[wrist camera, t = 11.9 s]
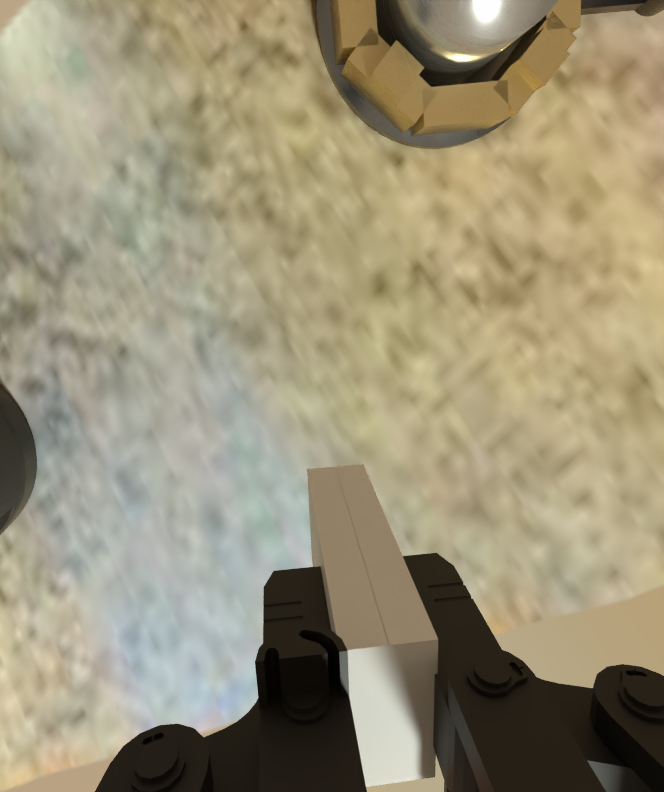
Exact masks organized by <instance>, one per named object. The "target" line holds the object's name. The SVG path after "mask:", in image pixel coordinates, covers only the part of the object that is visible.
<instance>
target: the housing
mask: <svg viewBox="0 0 664 792" xmlns="http://www.w3.org/2000/svg"><path fill="white" fill-rule="evenodd" d="M557 2H558V0H375V3H376V17H377V30H378V35H379V36H380V37H381V38H382V39H383V40H384V41H385V42H386V43H387V44H388V45H389V46H390V47H392V45H393V44H394V42H395V41H396V40H397V41H398V42H399V43H400V44H401V45H402V46H403V47H404V48H405V49H406V50H407V51H408V52H409V53H410V54H411V55H412V56H413V57H414V58H415V59H416V60H417V61H418V62H419V63H420V64H421V65H422V66H423V67H424V69H423V70H422V71H421V73H420V74H419V76H420V77H421V78H422V79H423V80H424V81H425V82H426V83H427V84H428V85H429V86H431V87H437V86H448V85H458V84H468V83H479V82H489V81H490V80H491V78H492V77H493V76H494V74H495V73H496V72H497V70H498V69H499V68H500V67H501V65H502V64H503V63H504V61H505V60H506V59H507V58H508V56H509V55H510V54H511V52H512V51H513V50H514V48H515V47H516V46H517V45H518V43H519V42H520V41H521V39H522V35H523V34H524V33H525V32H526V31H528V30H529V29H530V28H531V27H533V26H534V25H535V24H536V23H538V22H539V21H540V20H541V19H542V18H543V17H544V16H545V15H546V14H547V13H548V12H549V11H550V10H551V9H552V8H553V7H554V5H555V4H556V3H557ZM316 19H317V29H318V37H319V42H320V47H321V51H322V55H323V58H324V61H325V64H326V67H327V70H328V72H329V74H330V76H331V78H332V81H333V83H334V85H335V87H336V88H337V90H338V91H339V93H340V95H341V96H342V98H343V99H344V101H345V102H346V103H347V105H348V106H349V107H350V108H351V109H352V111H353V112H354V113H355V114H356V115H357V116H358V117H359V118H360V119H361V120H362V121H363V122H364V123H365V124H367V125H368V126H369V127H371V128H372V129H374V130H375V131H376V132H378V133H379V134H381V135H383V136H385V137H387V138H389V139H391V140H393V141H395V142H398V143H401V144H404V145H407V146H412V147H417V148H427V149H439V148H449V147H454V146H458V145H462V144H465V143H467V142H470V141H472V140H475V139H477V138H480V137H482V136H484V135H485V134H487V133H489V132H491V131H492V130H494V129H496V128H497V127H499V126H500V125H501V124H503V123H504V122H505V121H507V120H508V119H509V118H510V117H509V118H508V119H506V120H504V121H502V122H500V123H498V124H496V125H494V126H492V127H490V128H488V129H480V130H470V131H461V132H451V133H442V134H432V135H422V136H413V137H411V129H410V128H409V129H408V130H406V131H405V132H404V133H401V132H400V131H399V130H398V129H397V128H396V127H395V126H394V125H393V124H392V123H390V122H389V121H388V120H387V119H386V118H385V117H384V116H383V115H382V114H381V113H380V112H379V111H378V110H377V109H376V108H375V107H374V106H373V105H371V104H370V103H369V102H368V101H367V100H366V99H365V98H364V97H363V96H362V95H361V94H360V93H359V92H358V91H357V90H356V89H355V88H353V87H352V86H351V85H350V84H349V83H348V82H347V81H346V80H345V79H344V78H343V77H342V76H341V73H342V71H343V68H344V66H345V65H336V63H335V52H334V42H333V32H332V21H331V11H330V1H329V0H317V4H316Z"/></svg>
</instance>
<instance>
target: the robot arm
mask: <svg viewBox="0 0 664 792" xmlns="http://www.w3.org/2000/svg"><path fill="white" fill-rule="evenodd" d="M36 470H37V458H36V449H35V444H34V440H33V437H32V434H31V431H30V428H29V426H28V424H27V422H26V420H25V418H24V416H23V414H22V413H21V411H20V409H19V408H18V406H17V405H16V404H15V402H14V401H13V400H12V399H11V397H10V396H9V395H8V394H7V393H6V392H5V391H4V390H3V389H2V388H1V387H0V535H1V534H2V533H3V532H4V531H5V530H6V528H7V527H8V526H9V525H10V524H11V523H12V522H13V521H14V520H15V519H16V517H17V516H18V515H19V514H20V512H21V511H22V510H23V508H24V507H25V505H26V503H27V502H28V499H29V497H30V495H31V493H32V490H33V487H34V483H35V478H36ZM307 474H308V492H309V511H310V529H311V548H312V562H313V567H309V568H299V569H289V570H279V571H274V572H273V573H272V575H271V576H270V578H269V580H268V581H267V583H266V585H265V586H264V624H263V644H262V645H261V647H260V648H259V650H258V654H257V657H256V661H255V665H256V676H257V686H258V697H259V698H258V700H257V702H256V703H255V705H254V706H253V707H252V708H251V710H250V711H249V712H248V713H247V714H246V715H245V716H243V717H242V718H241V719H240V720H239V721H237V722H236V723H234V724H232V725H230V726H228V727H227V728H225V729H223V730H220V731H218V732H216V733H213V734H211V735H209V736H206V737H203V736H201V735H200V734H199V733H198V732H197V731H196V730H195V729H194V728H191V727H187V726H184V725H180V724H170V725H160V726H157V727H155V728H152V729H150V730H147V731H145V732H142V733H140V734H139V735H138V736H136V737H135V738H134V739H132V740H131V741H130V742H128V743H127V744H126V745H124V746H123V747H122V749H121V750H120V751H119V753H118V754H117V755H116V757H115V758H114V759H113V761H112V762H111V763H110V765H109V767H108V769H107V771H106V772H105V774H104V776H103V778H102V780H101V781H100V783H99V785H98V787H97V789H96V791H95V792H367V790H366V787H368V786H376V785H383V784H389V783H397V782H403V781H411V780H417V779H424V778H431V777H435V756H437V758H438V762H439V765H440V768H441V771H442V774H443V777H444V780H445V781H444V782H445V783H444V792H664V676H662V675H661V674H659V673H656V672H653V671H651V670H648V669H645V668H643V667H638V666H631V665H624V664H622V665H616V666H610V667H606V668H605V669H604V670H602V671H601V672H599V673H598V674H597V676H596V680H595V683H594V687H593V688H586V687H579V686H572V685H565V684H558V683H554V682H549V681H545V680H542V679H540V678H537V677H536V676H535V675H534V673H533V672H532V671H531V670H530V669H529V667H528V666H527V665H526V664H525V663H524V662H523V661H522V660H520V659H519V658H517V657H515V656H514V655H512V654H511V653H509V652H506V651H503V650H502V649H501V647H500V646H499V644H498V643H497V640H496V639H495V637H494V635H493V633H492V632H491V630H490V628H489V626H488V625H487V623H486V621H485V620H484V618H483V616H482V614H481V613H480V611H479V609H478V607H477V606H476V604H475V602H474V600H473V599H471V595H470V593H469V592H468V590H467V588H466V586H465V585H463V581H462V579H461V578H460V576H459V574H458V572H457V571H456V569H455V567H454V566H453V565H452V564H451V563H449V562H448V561H447V560H445V559H444V558H443V557H441V556H440V555H439V554H437V553H431V554H421V555H411V556H402V554H401V552H400V549H399V547H398V545H397V542H396V540H395V538H394V535H393V533H392V531H391V528H390V526H389V524H388V521H387V519H386V517H385V514H384V512H383V510H382V507H381V505H380V503H379V500H378V498H377V496H376V493H375V491H374V489H373V486H372V484H371V482H370V479H369V477H368V475H367V472H366V470H365V468H364V465H352V466H339V467H327V468H315V469H307Z"/></svg>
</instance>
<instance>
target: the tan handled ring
mask: <svg viewBox="0 0 664 792" xmlns="http://www.w3.org/2000/svg"><path fill="white" fill-rule="evenodd" d="M329 1H330V11H331V21H332V32H333V42H334V52H335V63H336V65H345V66H344V68H343V71H342V73H341V76H342V77H343V78H344V79H345V80H346V81H347V82H348V83H349V84H350V85H351V86H352V87H353V88H355V89H356V90H357V91H358V92H359V93H360V94H361V95H362V96H363V97H364V98H365V99H366V100H367V101H368V102H369V103H370V104H371V105H373V106H374V107H375V108H376V109H377V110H378V111H379V112H380V113H381V114H382V115H383V116H384V117H385V118H386V119H387V120H388V121H389V122H390V123H392V124H393V125H394V126H395V127H396V128H397V129H398V130H399V131H400V132H401V133H404V132H405V131H406V130H408V129H409V128H410V129H411V137H413V136H422V135H432V134H442V133H451V132H461V131H470V130H480V129H488V128H490V127H492V126H494V125H496V124H498V123H500V122H502V121H504V120H506V119H508V118H509V117H511V116H513V115H515V114H517V113H518V111H519V110H520V109H521V108H522V106H523V105H524V104H525V103H526V101H527V100H528V99H529V98H530V96H531V95H532V94H533V92H534V91H536V90H537V89H539V88H541V87H543V86H545V85H546V83H547V82H548V81H549V80H550V78H551V77H552V76H553V74H554V73H555V72H556V71H557V69H558V68H559V67H560V66H561V64H562V63H563V62H564V61H565V59H566V58H567V57H568V56H569V53H568V52H567V49H568V48H569V47H570V46H571V44H572V43H573V42H574V41H575V39H576V37H575V36H574V35H573V34H572V32H573V31H575V30H576V29H578V28H579V27H580V21H581V15H585V14H596V13H607V12H619V11H630V10H635V12H637V13H638V14H640V15H642V16H653V15H655V14H657V13H659V12H661V11H662V10H664V0H558V2H557V3H556V4H555V5H554V7H553V8H552V9H551V10H550V11H549V12H548V13H547V14H546V15H545V16H544V17H543V18H542V19H541V20H540V21H539V22H538V23H536V24H535V25H534V26H533V27H531V28H530V29H529V30H528V31H526V32H525V33H524V34H523V35H522V39H521V41H520V42H519V43H518V45H517V46H516V47H515V48H514V50H513V51H512V52H511V54H510V55H509V56H508V58H507V59H506V60H505V61H504V63H503V64H502V65H501V67H500V68H499V69H498V70H497V72H496V73H495V74H494V76H493V77H492V78H491V80H490V81H489V82H479V83H468V84H458V85H448V86H437V87H431V86H429V85H428V84H427V83H426V82H425V81H424V80H423V79H422V78H421V77H420V76H419V74H420V73H421V71H422V70H423V69H424V67H423V66H422V65H421V64H420V63H419V62H418V61H417V60H416V59H415V58H414V57H413V56H412V55H411V54H410V53H409V52H408V51H407V50H406V49H405V48H404V47H403V46H402V45H401V44H400V43H399V42H398V41H397V40H396V41H395V42H394V44H393V45H392V47H390V46H389V45H388V44H387V43H386V42H385V41H384V40H383V39H382V38H381V37H380V36H379V35H378V30H377V17H376V3H375V0H329Z"/></svg>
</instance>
